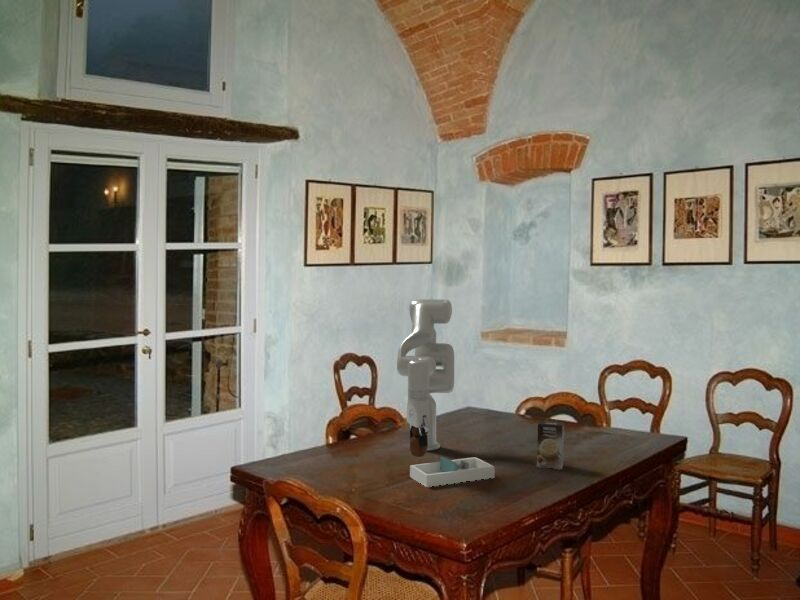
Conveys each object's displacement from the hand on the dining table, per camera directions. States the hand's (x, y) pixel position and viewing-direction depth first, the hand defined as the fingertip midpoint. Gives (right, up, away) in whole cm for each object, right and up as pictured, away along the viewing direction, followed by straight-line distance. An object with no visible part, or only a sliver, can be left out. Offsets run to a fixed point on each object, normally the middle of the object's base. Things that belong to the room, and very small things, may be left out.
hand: (418, 442), depth 253 cm
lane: (+11, -10, -11) cm, 19 cm away
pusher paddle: (+13, -8, -11) cm, 19 cm away
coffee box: (+48, -9, +2) cm, 49 cm away
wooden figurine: (0, -5, 0) cm, 5 cm away
